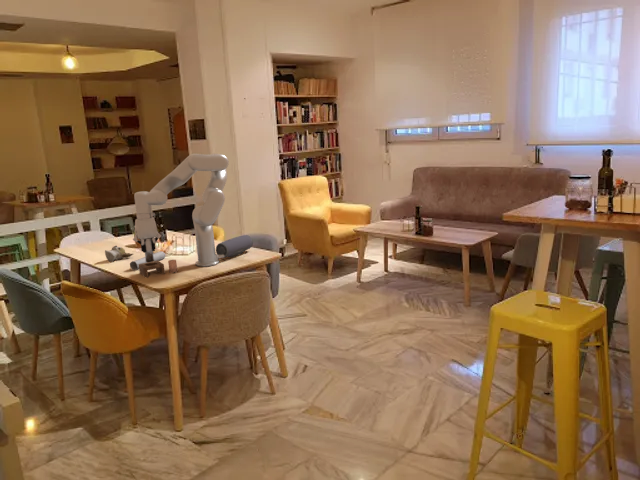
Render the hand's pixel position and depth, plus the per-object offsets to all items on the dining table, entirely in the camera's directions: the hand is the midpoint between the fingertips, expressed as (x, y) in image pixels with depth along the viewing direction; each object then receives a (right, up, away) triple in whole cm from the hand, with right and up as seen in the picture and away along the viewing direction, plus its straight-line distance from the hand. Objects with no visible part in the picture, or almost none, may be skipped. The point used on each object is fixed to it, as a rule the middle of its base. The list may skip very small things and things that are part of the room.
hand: (148, 251), depth 259 cm
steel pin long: (0, -5, +1) cm, 5 cm away
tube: (-7, -8, +22) cm, 25 cm away
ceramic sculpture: (-30, -6, +36) cm, 47 cm away
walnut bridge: (+1, -12, +3) cm, 12 cm away
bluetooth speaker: (+39, -3, +31) cm, 50 cm away
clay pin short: (+11, -11, +4) cm, 16 cm away
